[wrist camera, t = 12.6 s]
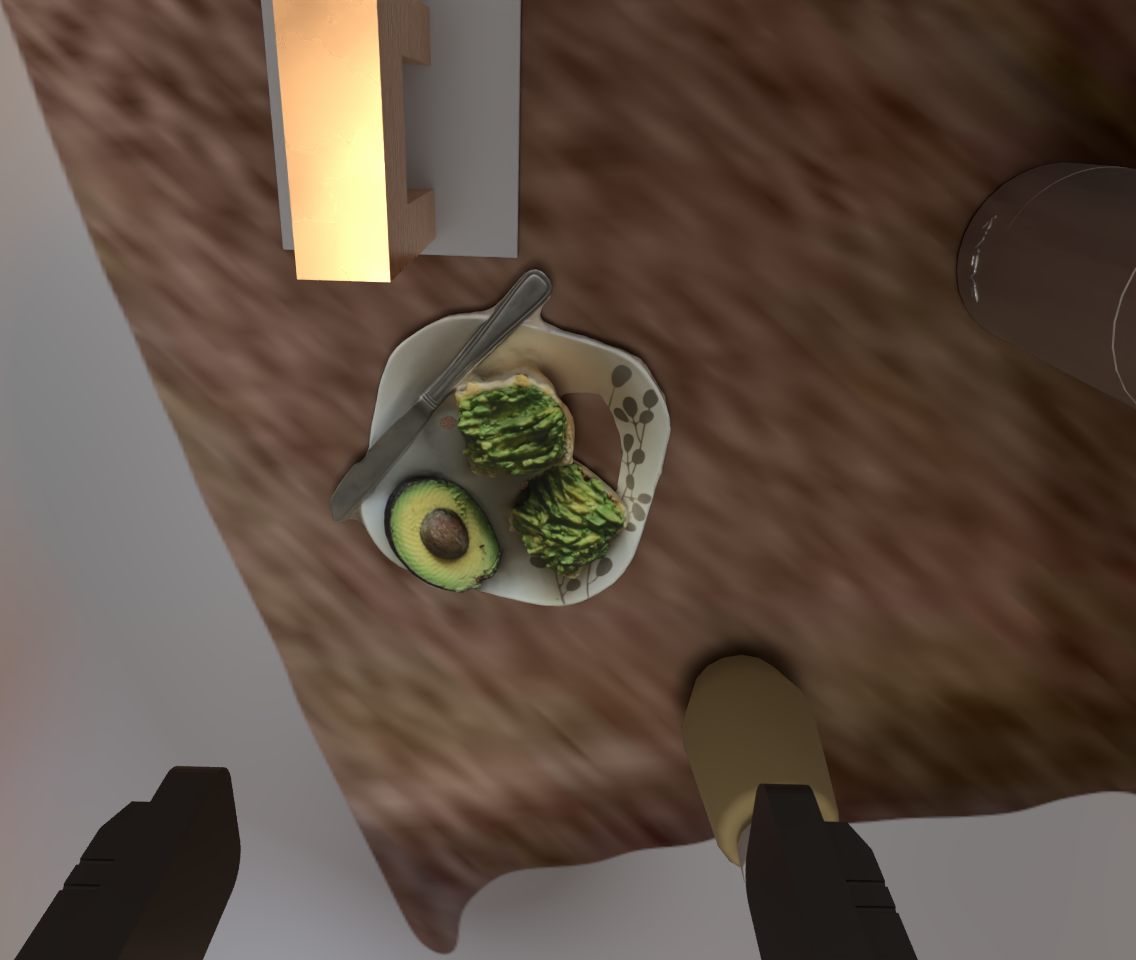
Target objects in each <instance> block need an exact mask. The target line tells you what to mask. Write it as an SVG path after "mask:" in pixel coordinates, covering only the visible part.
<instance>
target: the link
mask: <svg viewBox="0 0 1136 960" xmlns="http://www.w3.org/2000/svg"><path fill="white" fill-rule="evenodd" d="M273 11H274V23H275V34H276V45H277V56H278V68H279V79H280V90H281V102H282V113H283V124H284V135H285V147H286V158H287V169H288V181H289V192H290V203H291V214H292V226H293V237H294V248H295V260H296V271H297V279H308V280H340V281H371V282H391V281H392V280H393V279H394V278H395V277H396V276H397V275H398V274H399V273H400V272H401V271H402V270H403V269H404V268H405V267H406V266H407V265H408V264H410V263H411V262H412V261H413V260H414V259H415V258H416V257H417V256H418V255H419V254H420V253H421V252H422V251H423V250H424V249H425V248H426V247H427V246H428V245H429V244H430V243H431V242H433V241H434V240H435V239H436V230H435V193H434V189H417V188H407V178H406V152H405V126H404V100H403V74H402V64H411V65H431V44H430V8H429V7H428V6H426V5H425V4H424V3H422V2H421V1H420V0H273Z"/></svg>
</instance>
